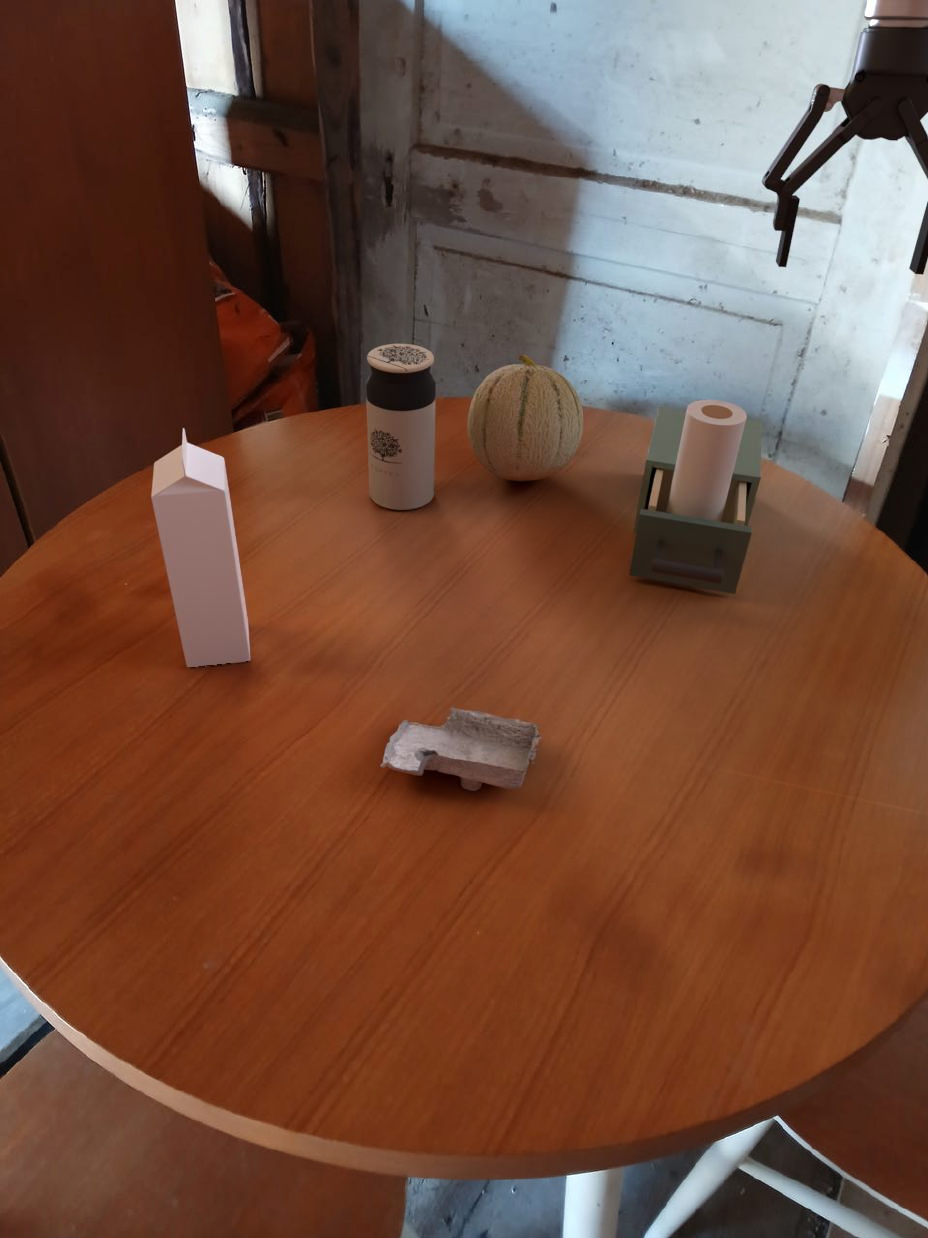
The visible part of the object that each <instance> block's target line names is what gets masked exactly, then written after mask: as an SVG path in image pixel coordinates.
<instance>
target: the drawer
mask: <svg viewBox="0 0 928 1238" xmlns="http://www.w3.org/2000/svg"><path fill="white" fill-rule="evenodd" d="M673 475H674V470H668V469H662V468H657V469H656V473H655V478H654V483H653V488H652V492H651V497H650V502H649V507H648V510H646V509H641V511H640V516H639V522H638V527H637V532H635V533H636V534H635V540H634V545H633V550H632V556H631V560H630V567H629V572H628V576H631V577H636V578H642V579H649V580H653V581H659V582H665V583H670V584H675V585H676V584H677V585H682V586H687V587H694V588H698V589H704V590H710V591H714V592H715V591H716V592H721V593H727V594H732V595H736V592H737V589H738V585H739V582H740V578H741V574H742V570H743V567H744V563H745V560H746V556H747V552H748V549H749V544H750V541H751V538H752V534H753V527H752V526H749V525H748V526H744V523H745V509H746V487H747V482H745V481H738V480H732V479H731V482H730V486H729V490H728V495H727V499H726V503H725V507H724V511H723V515H722V519H721V522H719V521H712V520H706V519H700V518H694V517H688V516H682V515H676V514H670V513H666V510H667V505H668V500H669V495H670V490H671V485H672V480H673Z"/></svg>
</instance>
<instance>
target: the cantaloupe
mask: <svg viewBox="0 0 928 1238" xmlns="http://www.w3.org/2000/svg"><path fill="white" fill-rule="evenodd" d="M518 360H519V361H522V362H523V363H512V364H509V365H503V366H501V367H499V368H497V369H496V370H494V371H492V372H490V373H489V374H488V375H487V376H486V377H485V378H484V379H483V381H482V382H481V383H480V385H479V386H478V387H477V388H476V390H475V392H474V394H473V398H472V399H471V402H470V406H469V410H468V414H467V437H468V440H469V443H470V447H471V450H472V452H473V453H474V455H475V457H476V458H477V460H478V462H480V464H481V465H482V466H483V467H484V468H486V470H488V471H489V472H490V473H492V474H494V475H495V476H497V477H498V478H500V479H503V480H506V481H513V482H514V481H515V482H527V481H528V482H530V481H537V480H543V479H547V478H549V477H551V476H553V475H555V474H557V473H558V472H560V471H561V470H562V469H563V468H565V467H566V466H567V465H568V464H569V463H570V462H571V460H572V459H573V458H574V457H575V455H576V452H577V451H578V449H579V446H580V442H581V440H582V436H583V432H584V414H583V413H584V412H583V406H582V403H581V400H580V398H579V395H578V392H577V391H576V389H575V388H574V387H573V385H572V383H571V382H570V381H569V379H567V378H566V376H564V375H563V374H562V373H560V372H558V371H557V370H555V369H553V368H551V367H548V366H544V365H541V364H540V365H539V364H537V363H535V362H534V361H533V360H532V359H531V358H530V357H529V356H527V355H525V354H519V357H518Z"/></svg>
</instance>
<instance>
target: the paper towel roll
mask: <svg viewBox="0 0 928 1238" xmlns="http://www.w3.org/2000/svg"><path fill="white" fill-rule="evenodd" d="M685 411H686V416H685V421H684V426H683V431H682V436H681V441H680V446H679V451H678V456H677V461H676V466H675V471H674V475H673V480H672V485H671V490H670V495H669V500H668V505H667V510H666V513H670V514H676V515H682V516H688V517H694V518H700V519H706V520H712V521H719V522H721V519H722V515H723V511H724V507H725V503H726V499H727V495H728V490H729V486H730V482H731V478H732V474H733V470H734V466H735V462H736V458H737V454H738V450H739V446H740V442H741V438H742V434H743V430H744V426H745V422H746V419H747V413H746V411H745V410H744V409H743V408H742V407H740V406H738V405H736V404H734V403H732V402H727V401H725V400H718V399H699V400H696V401H692V402H691V403H689V404H688V405H687V407H686V410H685Z"/></svg>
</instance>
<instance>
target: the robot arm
mask: <svg viewBox="0 0 928 1238" xmlns="http://www.w3.org/2000/svg"><path fill="white" fill-rule="evenodd" d="M863 16H864V19H865V20H866V21H869V23H868V26H867V27H864V28H863V29H862V31H860V33H859V38H858V43H857V46H856V53H855V57H854V61H853V66H852V70H851V75H850V78H849V81H848V82H847V83H848V84H847V85H846V86H845V88H839V87H832V86H830V85H828V84H825V83H818V84H816V85H815V86H814V88H813V90H812V93H811V97H810V99H809V103H808V107H807V110H805V113H804V114H803V116H802V117H801V118H800V120H799V122H798V123H797V125H796V126H795V128H794V129H793V131H792V132H791V134H790V135H789V137H788V138H787V140H786V141H785V143H784V145H783V146H782V148H781V149H780V151H779V152H778V154H777V155H776V156H775V158H774V160H773V161H772V163H771V164H770V166H769V167H768V168H767V171H766V172H765V173H764V175H763V176H762V179H761V183H762V185H763V186H764V188H765V189H766V190H769V191H771V192H774V193H776V195H777V196H776V197H777V199H776V202H775V203H776V204H775V208H774V214H773V219H772V227H773V229H774V231H775V232H781V233H780V237H779V243H778V248H777V252H776V258H775V263H776V265H777V266H778V268H787V266H788V261H789V256H790V251H791V245H792V241H793V236H794V231H795V226H796V222H797V216H798V211H799V206H800V201H801V198H800V197H798V196H797V195H796V194H795V193H796V192H797V191H798V190H799V189H800V188H801V187H802V186H803V185H804V184H805V183H806V182H807V181H808V180H809V179H810V178H812V176H813V175H815V174H816V173H817V172H818V171H819V170H820V169H821V168H822V167H823V166H824V165H825V164H826V163H827V162H828V161H829V160H831V158H832V157H833V156H835V154H836V153H837V152H838V151H839V150H840V149H841V148H842V147H844V146H845V145H846V144H848V143H849V142H850V141H851V140H852V139H853V138H854V137H855V136H856V137H858V138H860V139H862V140H866V141H867V140H869V141H873V140H878V139H884V140H887V141H893V142H897V141H898V140H901V139H903V138H905V140H906V142H907V143H908V145H909V146H910V148H911V151H912V152H913V154H914V156H915V158H916V160H917V162H918V163H919V166H920V167H921V169H922V171H923V173H924V175H925V177H926V179H927V180H928V132H927V131H926V129H925V126H924V125H923V123H922V121H921V120H922V119H924V117H925V116H926V115H927V114H928V0H867V1H866V5H865V10H864V15H863ZM839 102H840V104H841V106H842V109H843V111H844V113H845V116H846V117H845V119H843V121H841V122H840V124H838V125H837V126H836V127H835V128H834V129H833V131H832V133H830V134H829V135H828V136H827V138H825V139H824V140H823V141H822V142H821V143H820V144H819V145H818V146H817V147H816V148H815V149H814V150H813V151H812V152H811V153H810V154H809V155H808V156H807V157H806V158H805V159H804V160H803V161H802V162H801V163H800V164H799V165H798V166H797V167H796V168H795V169H793V171H792V172H791V173H790V174H789V175H788V176H787V177H786V178H784V179H783V176H784V175H785V173H786V172H787V171H788V169H789V167H790V166H791V164H792V163H793V162H794V160H795V159H796V157H797V156H798V154H799V152H800V151H801V149H802V148H803V146H804V145H805V143H806V142H807V140H808V139H809V138H810V136H811V135H812V133H813V132H814V130H815V129H816V127H817V125H818V124H819V123H820V121H821V119H822V117H823V116H824V113H828V112H830V111H831V110H832V109H833V108H834V106H835V105H836V104H837V103H839ZM927 263H928V201H926V206H925V209H924V213H923V215H922V220H921V224H920V228H919V231H918V235H917V238H916V241H915V246H914V249H913V253H912V257H911V260H910V263H909V264H910V265H909V268H908V269H909V270H910V271H911V272H912V273H914V274H915V275H924V274H925V271H926V266H927Z"/></svg>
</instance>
